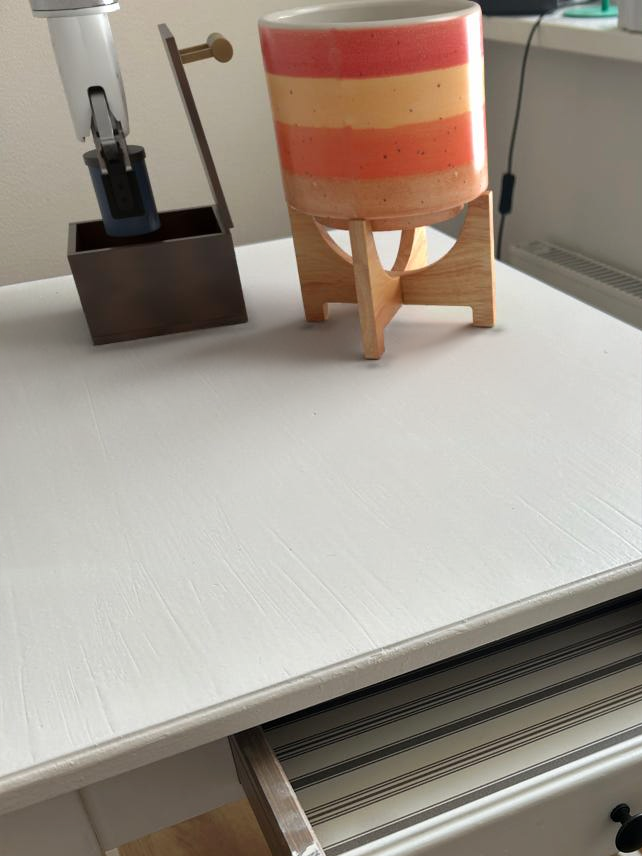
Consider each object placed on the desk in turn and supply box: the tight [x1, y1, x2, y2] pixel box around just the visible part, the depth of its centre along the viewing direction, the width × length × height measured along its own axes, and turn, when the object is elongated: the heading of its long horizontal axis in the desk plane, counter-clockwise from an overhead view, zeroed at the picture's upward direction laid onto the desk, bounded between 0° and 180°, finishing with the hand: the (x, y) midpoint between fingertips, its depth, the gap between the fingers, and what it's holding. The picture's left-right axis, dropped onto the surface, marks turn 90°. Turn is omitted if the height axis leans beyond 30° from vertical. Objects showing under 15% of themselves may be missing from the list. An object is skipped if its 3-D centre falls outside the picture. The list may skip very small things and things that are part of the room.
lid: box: [157, 22, 235, 230], centre depth 96 cm, size 16×13×6 cm
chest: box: [66, 203, 249, 346], centre depth 102 cm, size 16×13×9 cm
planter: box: [257, 0, 497, 360], centre depth 91 cm, size 20×20×27 cm
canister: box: [82, 144, 161, 237], centre depth 97 cm, size 6×6×7 cm
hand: (127, 207), depth 98 cm, fingers closed on canister, 5 cm apart
